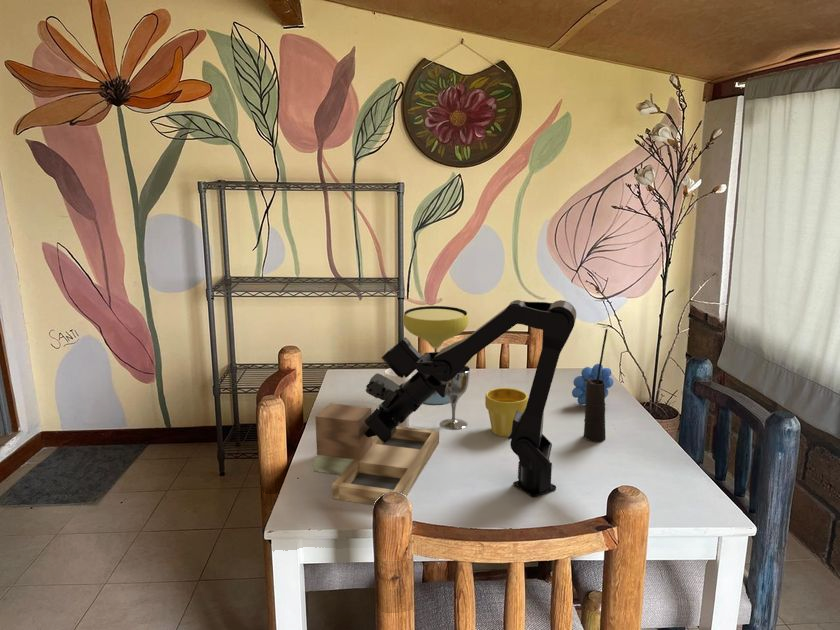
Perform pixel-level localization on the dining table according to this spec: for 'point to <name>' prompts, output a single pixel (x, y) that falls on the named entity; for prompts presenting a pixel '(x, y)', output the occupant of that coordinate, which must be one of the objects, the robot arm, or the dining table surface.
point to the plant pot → (504, 408)
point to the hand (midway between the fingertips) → (366, 435)
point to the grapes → (591, 375)
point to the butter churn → (595, 406)
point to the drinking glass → (398, 380)
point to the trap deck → (381, 466)
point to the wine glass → (456, 398)
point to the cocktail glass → (435, 330)
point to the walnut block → (343, 431)
